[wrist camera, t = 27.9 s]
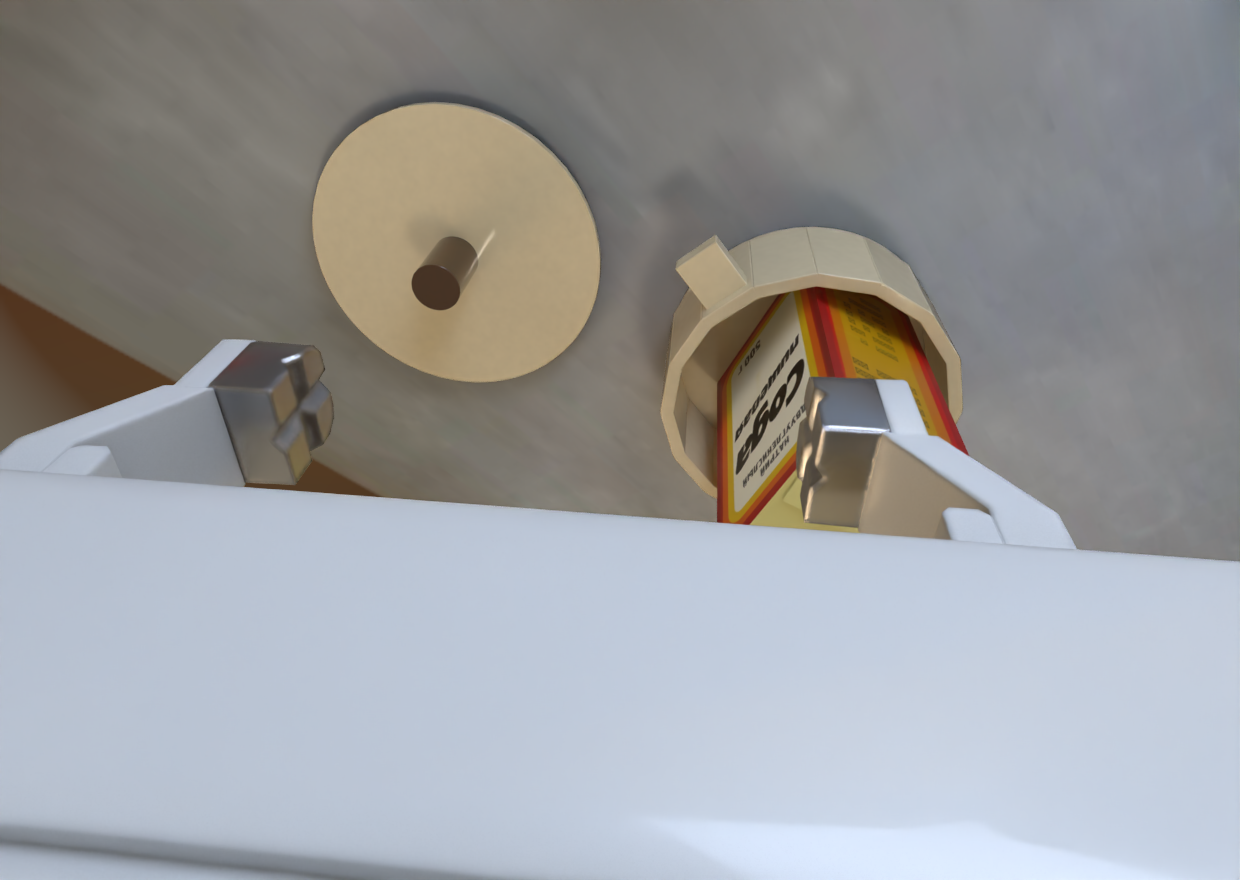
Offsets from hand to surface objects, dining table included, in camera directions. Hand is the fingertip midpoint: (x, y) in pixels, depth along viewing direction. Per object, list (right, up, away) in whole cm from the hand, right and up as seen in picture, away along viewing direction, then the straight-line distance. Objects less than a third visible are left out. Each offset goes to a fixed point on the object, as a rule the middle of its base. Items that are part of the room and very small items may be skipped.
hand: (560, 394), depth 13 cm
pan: (+12, +4, +34) cm, 36 cm away
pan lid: (-8, +10, +32) cm, 34 cm away
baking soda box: (+12, +5, +33) cm, 36 cm away
